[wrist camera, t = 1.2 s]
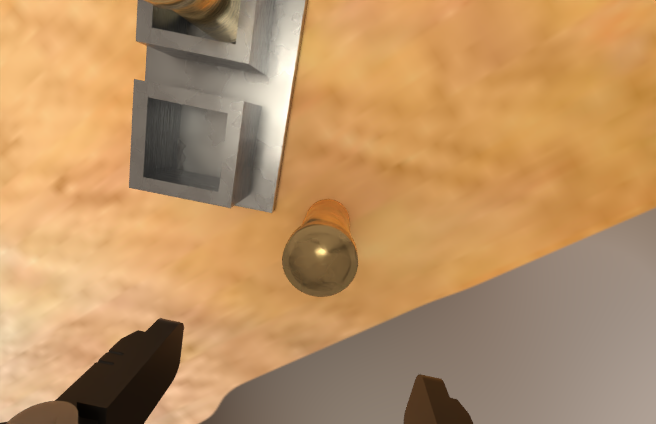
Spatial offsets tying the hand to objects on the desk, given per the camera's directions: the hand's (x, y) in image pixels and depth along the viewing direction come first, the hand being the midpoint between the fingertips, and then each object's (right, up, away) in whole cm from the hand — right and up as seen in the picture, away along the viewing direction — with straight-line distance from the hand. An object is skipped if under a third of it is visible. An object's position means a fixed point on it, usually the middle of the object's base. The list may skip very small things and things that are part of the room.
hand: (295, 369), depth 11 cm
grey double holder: (-8, +16, +17) cm, 25 cm away
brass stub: (+1, +5, +20) cm, 20 cm away
